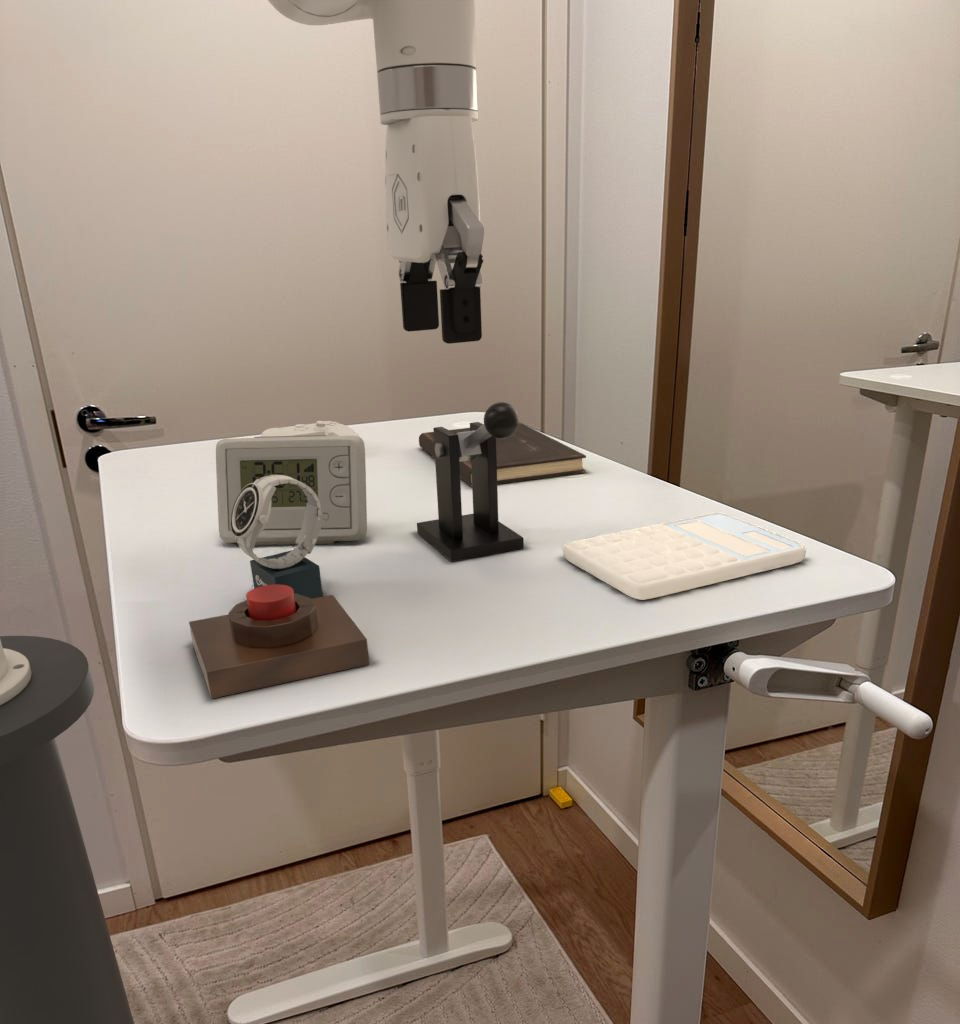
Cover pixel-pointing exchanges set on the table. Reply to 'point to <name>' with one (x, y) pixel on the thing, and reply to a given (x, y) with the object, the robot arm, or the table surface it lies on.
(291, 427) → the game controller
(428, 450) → the hardcover book
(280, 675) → the button block
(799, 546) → the calculator
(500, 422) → the lever
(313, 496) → the watch
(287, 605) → the button
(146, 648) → the table surface
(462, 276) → the robot arm
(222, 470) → the digital clock
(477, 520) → the bracket
